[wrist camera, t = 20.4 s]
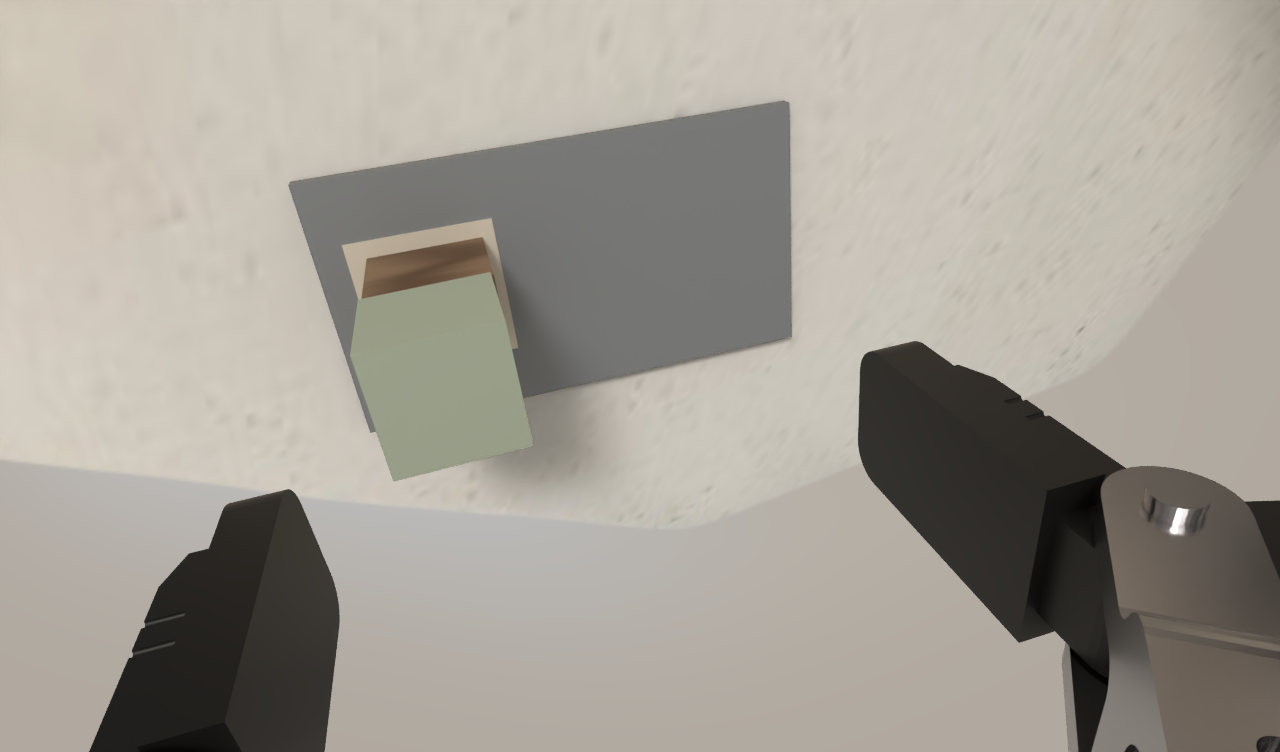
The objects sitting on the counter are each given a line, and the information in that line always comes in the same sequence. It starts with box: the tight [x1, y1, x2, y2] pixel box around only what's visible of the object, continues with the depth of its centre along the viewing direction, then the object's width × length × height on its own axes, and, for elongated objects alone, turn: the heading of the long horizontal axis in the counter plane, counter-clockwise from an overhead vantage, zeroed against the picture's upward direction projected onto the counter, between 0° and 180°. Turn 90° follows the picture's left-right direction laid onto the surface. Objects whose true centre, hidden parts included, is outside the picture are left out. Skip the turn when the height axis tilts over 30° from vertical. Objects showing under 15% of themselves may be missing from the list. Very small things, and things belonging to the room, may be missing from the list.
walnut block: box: [361, 237, 499, 299], centre depth 32 cm, size 5×5×5 cm
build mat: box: [288, 101, 792, 433], centre depth 36 cm, size 22×12×1 cm, turn 97°
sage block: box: [350, 272, 534, 481], centre depth 28 cm, size 5×5×5 cm
